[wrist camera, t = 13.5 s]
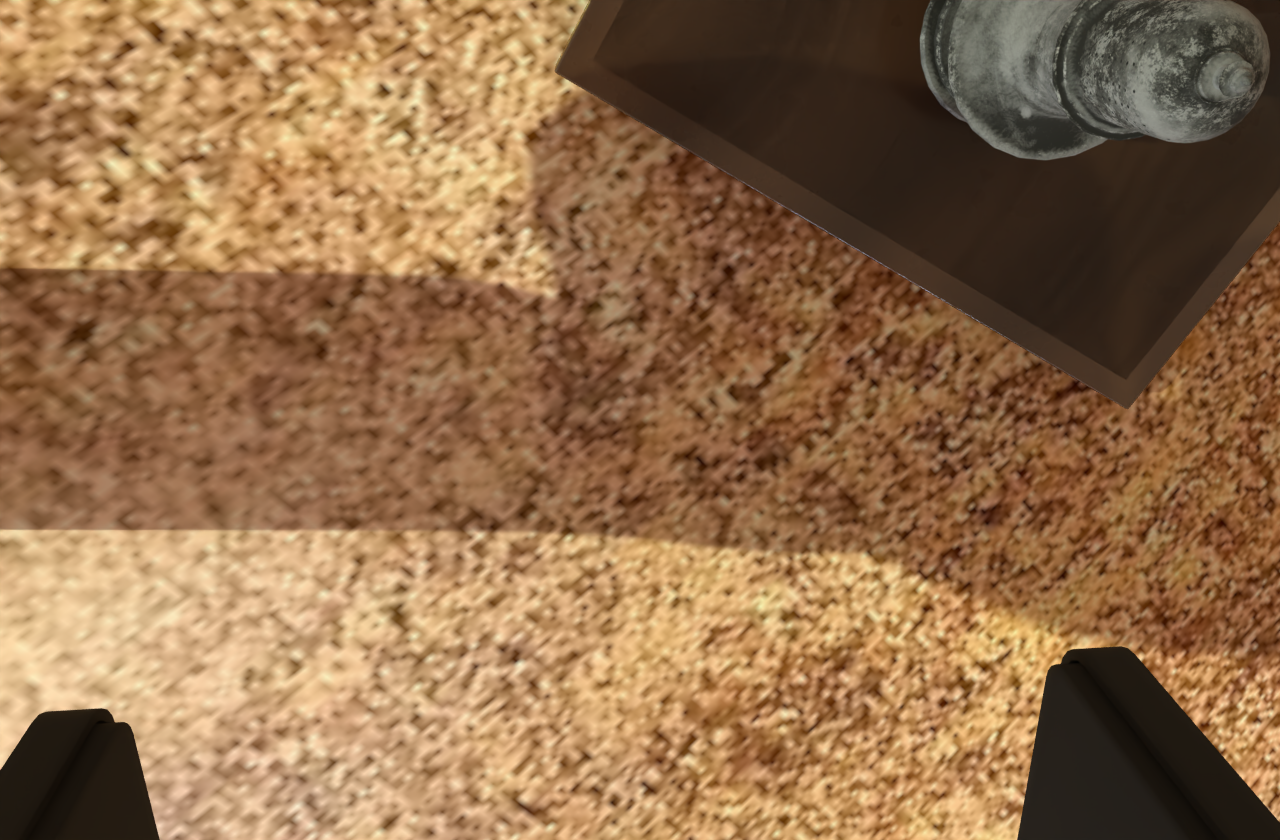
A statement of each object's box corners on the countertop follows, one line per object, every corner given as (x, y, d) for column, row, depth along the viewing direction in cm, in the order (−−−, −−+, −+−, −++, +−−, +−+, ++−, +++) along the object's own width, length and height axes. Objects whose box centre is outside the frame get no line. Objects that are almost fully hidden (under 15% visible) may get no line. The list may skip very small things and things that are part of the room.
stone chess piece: (1064, -121, 29) (1359, -165, 18) (1139, 69, 31) (1442, 132, 20) (874, 0, 30) (1044, 28, 19) (960, 176, 32) (1156, 291, 21)
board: (554, 66, 32) (553, 71, 30) (834, -471, 27) (848, -493, 26) (1108, 393, 37) (1128, 410, 36) (1425, -5, 32) (1462, -3, 31)
